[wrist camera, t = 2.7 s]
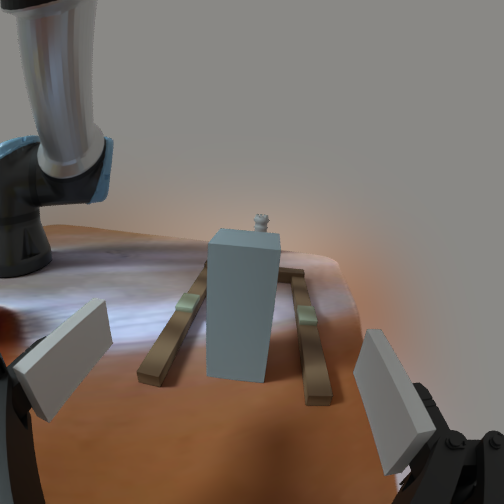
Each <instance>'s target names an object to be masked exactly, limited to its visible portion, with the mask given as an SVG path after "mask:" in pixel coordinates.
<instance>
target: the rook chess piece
mask: <svg viewBox="0 0 504 504" xmlns="http://www.w3.org/2000/svg"><path fill="white" fill-rule="evenodd" d="M254 221H255V226H254V227H255V231H256V232H267V228H268V227H267V223H268V222H269V219H268V215H264V216H262V214H260V216H259V214H257V215H256V217H255V218H254Z"/></svg>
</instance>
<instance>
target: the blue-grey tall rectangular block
mask: <svg viewBox="0 0 504 504" xmlns="http://www.w3.org/2000/svg"><path fill="white" fill-rule="evenodd" d="M280 254H281V246H280V236H279V234H276V233H266V232H256V231H245V230H234V229H222V228H221V229H220V230H219V231H218V232H217V233H216V235H215V236H214V237H213V238H212V239H211V241H210V242H209V243H208V261H207V307H206V364H207V376H210V377H216V378H224V379H231V380H240V381H249V382H259V383H264V377H265V371H266V364H267V357H268V349H269V342H270V335H271V327H272V320H273V312H274V304H275V296H276V288H277V280H278V271H279V263H280Z"/></svg>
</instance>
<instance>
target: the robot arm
mask: <svg viewBox="0 0 504 504" xmlns="http://www.w3.org/2000/svg"><path fill="white" fill-rule="evenodd" d="M96 6H97V0H1V10H2V11H3V12H6V13H9V14H12V15H15V16H16V21H17V33H18V41H19V50H20V57H21V63H22V69H23V74H24V79H25V84H26V89H27V93H28V98H29V102H30V106H31V110H32V113H33V117H34V120H35V124H36V128H37V131H38V134H39V136H25V137H18V138H14V139H11V140H7V141H5V142H2V143H0V277H14V276H19V275H24V274H27V273H30V272H33V271H36V270H38V269H40V268H42V267H44V266H46V265H47V264H48V263H49V262H50V261H51V259H52V255H51V247H50V244H49V242H48V239H47V237H46V234H45V232H44V229H43V227H42V224H41V221H40V213H39V212H40V211H39V207H42V206H51V205H67V204H82V203H86V204H91V203H95V202H102V201H104V200H105V199H106V197H107V195H108V190H109V182H110V171H111V164H112V154H113V140H112V139H111V138H107V137H104V136H103V133H102V131H101V129H100V128H99V127H98V126H97V125H96V124H95V123H94V122H93V102H92V56H93V55H92V54H93V36H94V24H95V15H96ZM112 344H113V342H112V337H111V332H110V326H109V320H108V314H107V308H106V301H105V300H102V299H97V298H93V299H92V300H90V301H89V302H88V303H87V304H85V305H84V306H83V307H82V308H81V309H79V310H78V311H77V312H76V313H74V314H73V315H72V316H71V317H70V318H68V319H67V320H66V321H65V322H64V323H62V324H61V325H60V326H59V327H58V328H56V329H55V330H54V331H53V332H52V333H51V334H49V335H48V336H47V337H46V336H45V337H43V338H41V339H39V340H37V341H36V342H35V343H33V344H32V345H31V346H30V348H28V349H26V350H25V352H23V353H22V354H21V355H20V356H19V357H17V358H16V359H15V360H14V361H13V362H12V363H11V364H10V365H9V366H8V367H6V365H5V363H4V360H3V358H2V355H1V353H0V504H45V500H44V496H43V492H42V488H41V483H40V479H39V474H38V469H37V463H36V457H35V450H34V442H33V434H32V423H31V415H30V413H29V410H30V409H31V407H32V408H33V410H34V412H35V413H36V415H37V416H38V417H39V418H41V419H43V420H45V421H47V422H48V423H50V421H51V420H52V419H53V418H54V416H55V415H56V414H57V412H58V411H59V410H60V408H61V407H62V406H63V404H64V403H65V402H66V401H67V399H68V398H69V397H70V396H71V394H72V393H73V392H74V390H75V389H76V388H77V387H78V385H79V384H80V383H81V382H82V380H83V379H84V378H85V377H86V376H87V374H88V373H89V372H90V371H91V369H92V368H93V367H94V366H95V365H96V363H97V362H98V361H99V360H100V358H101V357H102V356H103V355H104V354H105V352H106V351H107V350H108V349H109V348H110V347H111V345H112ZM353 374H354V377H355V380H356V383H357V386H358V389H359V392H360V395H361V398H362V401H363V404H364V407H365V410H366V414H367V417H368V420H369V423H370V426H371V430H372V433H373V436H374V440H375V443H376V447H377V450H378V454H379V457H380V461H381V464H382V468H383V472H384V475H385V476H387V475H392V474H397V473H402V472H403V470H404V469H405V468H406V467H407V466H408V465H409V466H410V469H411V472H410V473H409V474H408V475H407V476H406V477H405V478H404V479H403V481H402V482H401V483H400V484H399V485H402V484H403V485H402V487H401V488H400V490H399V492H398V494H397V495H396V497H395V499H394V500H393V502H392V504H504V435H503V434H501V433H500V432H498V431H489V432H488V433H486V434H485V436H484V437H483V438H482V439H481V440H467V439H466V438H465V436H464V435H463V434H462V433H460V432H458V431H454V430H450V429H449V427H448V425H447V423H446V421H445V419H444V418H443V416H442V414H441V412H440V410H439V408H438V407H437V406H436V403H435V401H434V400H432V396H431V394H430V393H429V391H428V389H426V388H425V387H424V386H423V385H422V384H421V383H412V382H411V380H410V378H409V377H408V375H407V373H406V371H405V369H404V368H403V366H402V364H401V362H400V361H399V359H398V357H397V355H396V354H395V352H394V350H393V349H392V347H391V345H390V343H389V342H388V340H387V339H386V337H385V335H384V334H383V332H382V330H380V329H367V331H366V334H365V338H364V341H363V344H362V347H361V351H360V354H359V357H358V360H357V363H356V366H355V369H354V372H353Z"/></svg>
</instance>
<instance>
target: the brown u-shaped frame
mask: <svg viewBox="0 0 504 504" xmlns="http://www.w3.org/2000/svg"><path fill="white" fill-rule="evenodd" d="M207 261H208V260H207ZM207 261H206V262H205V264H204V269H203V270H202V272H201V273H200V275H199V276H198V278H197V279H196V281H195V282H194V284H193V285H192V287H191V288H190V290H189V291H188V293H184V294H183V296H182V297H181V299H180V300H179V301H178V303H177V304H176V306H175V308H176V311H175V312H174V314H173V315H172V317H171V318H170V320H169V322H168V323H167V325H166V326H165V328H164V329H163V331H162V332H161V334H160V335H159V337H158V339H157V340H156V342H155V343H154V345H153V346H152V348H151V350H150V351H149V353H148V354H147V356H146V357H145V359H144V361H143V362H142V364H141V365H140V367H139V369H138V370H137V376H138V381H139V382H141V383H145V384H149V385H153V386H158V387H160V386H161V384H162V382H163V380H164V378H165V376H166V374H167V372H168V370H169V368H170V366H171V364H172V362H173V360H174V358H175V356H176V354H177V352H178V350H179V348H180V346H181V344H182V342H183V340H184V338H185V336H186V334H187V332H188V330H189V328H190V326H191V324H192V322H193V320H194V318H195V316H196V314H197V312H198V310H199V308H200V306H201V304H202V302H203V300H204V298H205V296H206V295H207ZM304 275H305V273H304V270H303V269H292V268H282V267H279V271H278V280H277V282H283V283H291V288H292V296H293V303H294V310H295V318H296V325H297V333H298V341H299V349H300V358H301V366H302V375H303V384H304V394H305V403H306V405H310V406H329V405H330V403H331V400H332V397H333V394H332V389H331V385H330V380H329V376H328V371H327V367H326V363H325V358H324V354H323V350H322V346H321V341H320V337H319V333H318V329H317V322H318V321H317V317H316V313H315V309H314V306H312V305H311V301H310V298H309V294H308V290H307V286H306V282H305V279H304Z"/></svg>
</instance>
